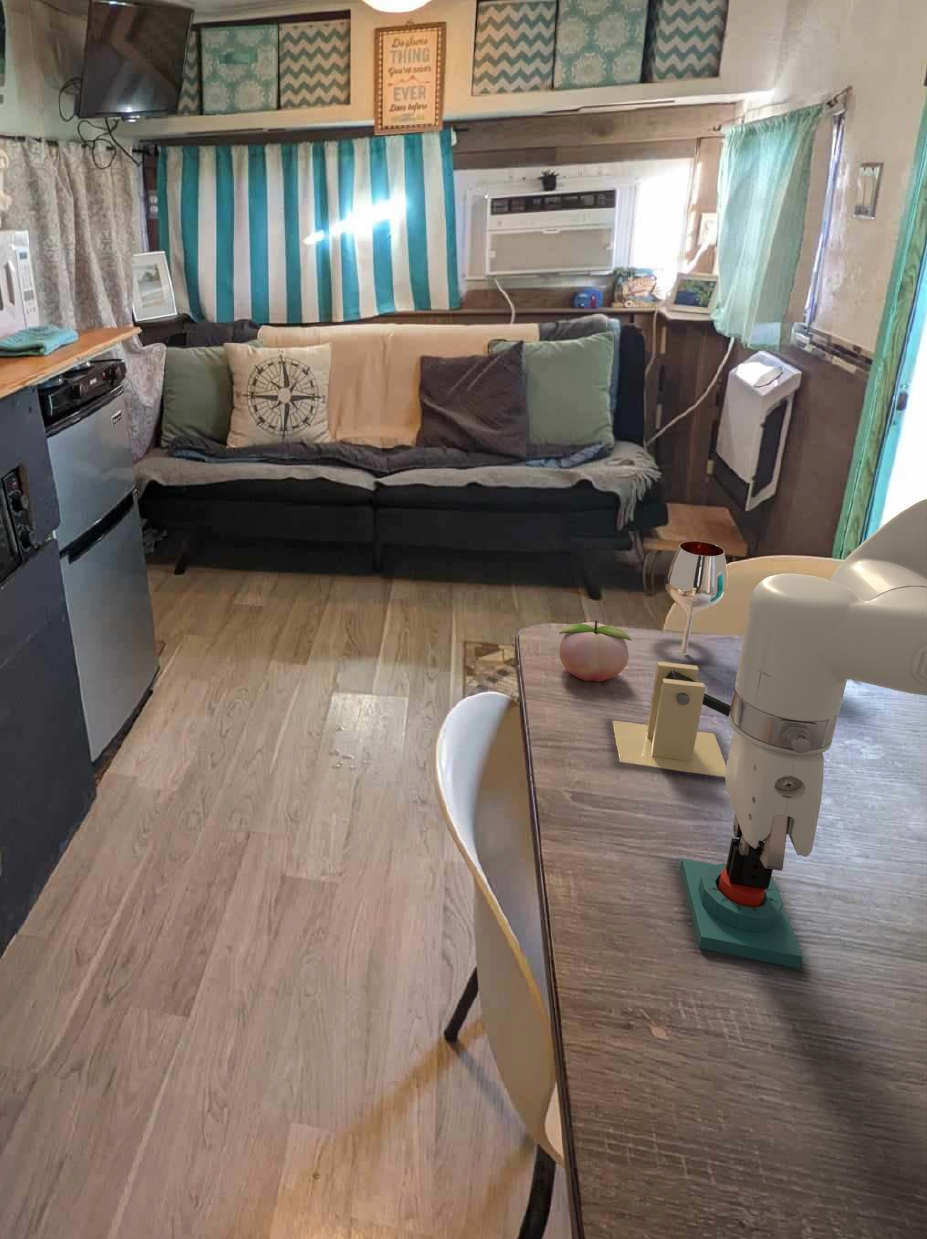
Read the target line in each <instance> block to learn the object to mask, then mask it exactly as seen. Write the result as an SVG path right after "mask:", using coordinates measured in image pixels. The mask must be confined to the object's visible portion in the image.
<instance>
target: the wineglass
mask: <svg viewBox="0 0 927 1239" xmlns="http://www.w3.org/2000/svg"><path fill="white" fill-rule="evenodd" d="M663 586H664V589H665V591H666V593H667V595H668V596H669V598H670V599H671V600H672V601H673V602H675V604H676V605H678V606H679V607H680V608H681V610H682V611H683V612H684V613H685V615H686V619H685V625H684V631H683V635H682V641H681V646H680V649H679V651H678V654H679V655H681V656H689V652H688V650H689V648H688V647H689V641H690V635H691V630H692V624H693V619H694V617H695V615H698V614H699V613H701V612H703V611H705V610H707V609H710V608H712V607H715V606H716V605H717V604H719V603H720V602H721V601H722V600H723V599H724V598H725V597H726V595H727V593H728V590H729V574H728V565H727V559H726V553H725V549H724V548H723V547H721V546H720V545H717V544H715V543H712V542H707V541H701V540H687V541H683V542H681V543H680V544H679V545H678V547H677V549H676V551H675V553H674V555H673V557H672V558H671V561H670V563H669V565H668V567H667V569H666V572H665V574H664V579H663Z"/></svg>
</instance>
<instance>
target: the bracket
mask: <svg viewBox="0 0 927 1239" xmlns="http://www.w3.org/2000/svg"><path fill="white" fill-rule="evenodd" d="M655 669H656V670H655V676H654V683H653V688H652V695H651V699H650V706H649V713H648V718H647V724H643V723H636V722H629V721H628V722H627V721H621V720H614V719H613V720H611V721H612V728H613V733H614V739H615V744H616V748H617V755H618V760H619V763H624V764H628V765H629V764H630V765H637V766H643V767H650V768H651V767H652V768H658V769H665V770H672V771H678V772H685V773H691V774H692V773H693V774H699V775H704V776H705V775H707V776H713V777H718V778H719V777H720V778H725V773H726V764H727V763H726V762H725V759H724V756H723V753H722V750H721V748H720V746H719V742H718V740H717V737H716V735H715V733H713V732H712V733H711V732H705V731H698V729H699V724H700V719H701V714H702V708H703V698H704V693H705V692H706V684H705V682H699V681H698V676H699V672H700V669H699V667H698V665H692V664H686V663H685V664H683V663H675V662H665V661H657V663H656V668H655ZM671 670H673V671H675V672H677V673H680V674H682V675H684V676H686V677H688V678H690V679H692V680H694V682H690V681H681V680H672V679H665V678H666V677H667V676H668V674H669V673H670V672H671ZM661 683H662V686H661ZM705 694H706V693H705Z"/></svg>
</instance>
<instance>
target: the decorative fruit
mask: <svg viewBox="0 0 927 1239" xmlns="http://www.w3.org/2000/svg"><path fill="white" fill-rule="evenodd" d="M558 634H559V635H560V634H561V635H562V637H561V640H560V644H559V659H560V663H561V664H562V666H563V667H564V668H565V670H566V671H567V672H568V673H570V674H571V675H573V676H574V677H576V678H578V679H579V680H581V681H585V682H591V681H594V682H598V683H599V682H604V681H607V680H609V679H612V678H614V677H615V676H617V675H619V674H620V673H621V672H623V670H624V669H625V668H626V667H627V665H628V663H629V656H630V655H629V648H628V645H627V642H626V640H627V641H629V642H632V638H631V637H630V635H629V634H627V633H626V632H625V631H624V630H622V629H620V628H618V627H616V626H613V625H606V624H603V623H600V622H598V620H596V619H595V620H594V622H581V623H573V624H569V625H568V626H566V627H564V628H563V629H562V630H560V631H559V633H558Z"/></svg>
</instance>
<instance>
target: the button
mask: <svg viewBox="0 0 927 1239" xmlns="http://www.w3.org/2000/svg"><path fill="white" fill-rule="evenodd" d="M728 876H729V875H728V874H727V871H726V868H724V869H723V870H722V873H721V877H720V882H719V886H718V889H719V891H720V892H721V893H722V894H723V895H724V896H725V897H726V898H727V899H729V900H730V901H732V902H734V903H736V904H738V905H741V906H747V907H752V908H755V907H759V906H761V905H762V902H763V898H764V894H765V890H766V889H759V888H753V887H748V886H742V885H736V884H732V883H731V882H730V880H729V877H728Z"/></svg>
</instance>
